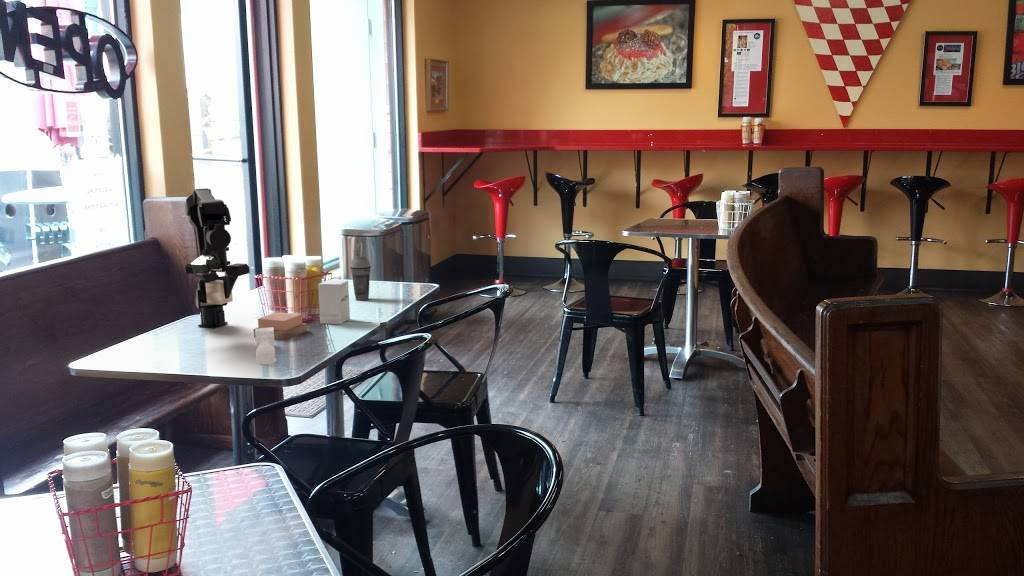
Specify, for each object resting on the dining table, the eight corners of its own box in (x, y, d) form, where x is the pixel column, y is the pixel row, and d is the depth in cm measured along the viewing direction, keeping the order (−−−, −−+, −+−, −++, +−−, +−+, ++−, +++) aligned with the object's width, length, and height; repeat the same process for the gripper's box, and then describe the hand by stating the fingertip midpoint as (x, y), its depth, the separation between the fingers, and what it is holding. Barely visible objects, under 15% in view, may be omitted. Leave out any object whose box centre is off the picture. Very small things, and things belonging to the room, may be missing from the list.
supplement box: (341, 324, 275) (339, 284, 273) (319, 323, 276) (317, 283, 274) (350, 319, 282) (348, 279, 280) (328, 318, 284) (326, 279, 281)
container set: (255, 347, 250) (254, 328, 249) (275, 345, 252) (273, 326, 251) (255, 366, 232) (254, 345, 230) (276, 364, 233) (275, 343, 232)
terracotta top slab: (258, 328, 261) (257, 318, 261) (276, 321, 269) (275, 312, 269) (285, 330, 258) (284, 320, 258) (302, 323, 266) (301, 314, 266)
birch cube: (207, 303, 257) (205, 283, 256) (218, 300, 261) (216, 279, 260) (221, 304, 255) (219, 283, 254) (232, 301, 260) (230, 280, 258)
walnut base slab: (254, 339, 261) (253, 329, 261) (276, 330, 271) (275, 320, 271) (285, 341, 258) (285, 331, 257) (307, 333, 268) (306, 323, 267)
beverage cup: (362, 296, 317) (359, 240, 313) (377, 298, 313) (374, 242, 309) (347, 300, 311) (344, 243, 307) (362, 302, 307) (359, 244, 303)
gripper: (169, 247, 251) (174, 301, 254) (223, 250, 244) (227, 305, 247) (196, 242, 261) (200, 294, 264) (249, 244, 254) (252, 297, 257)
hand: (219, 298), depth 258 cm, fingers closed on birch cube, 5 cm apart
